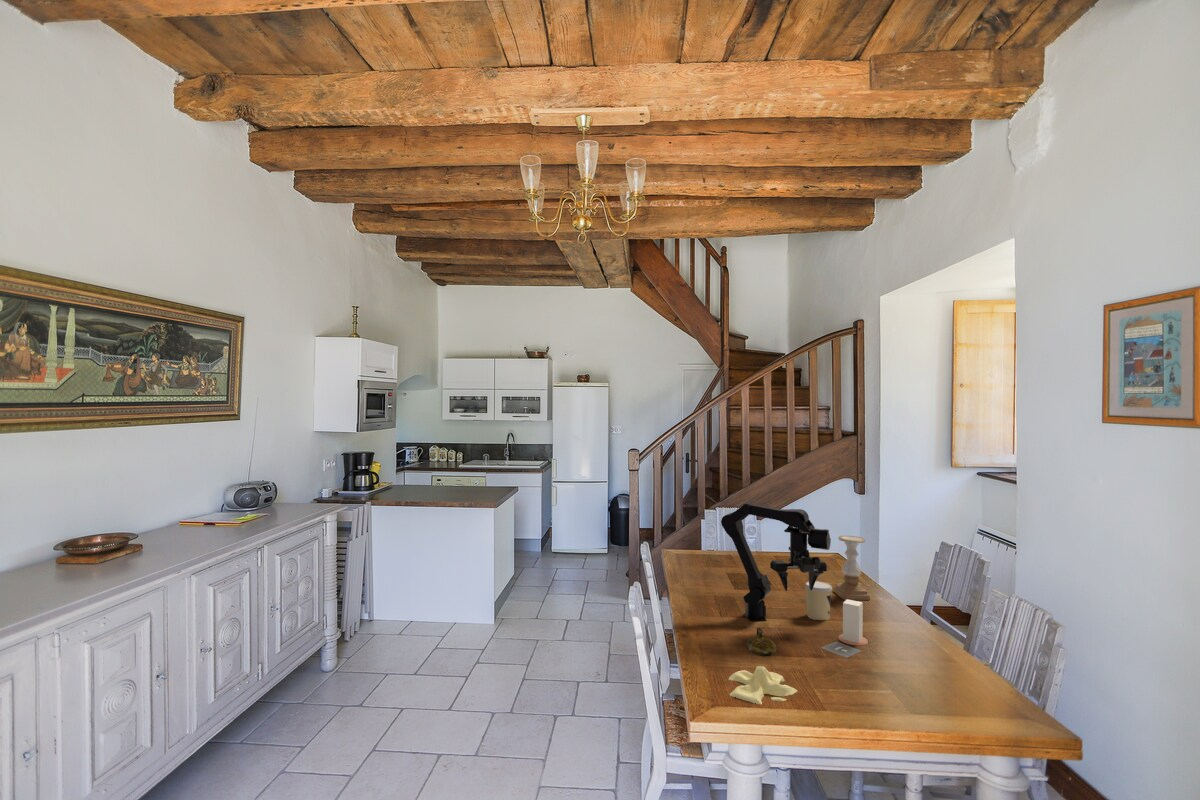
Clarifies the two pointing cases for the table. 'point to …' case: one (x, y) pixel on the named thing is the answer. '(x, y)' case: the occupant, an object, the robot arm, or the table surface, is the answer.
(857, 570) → the candle holder
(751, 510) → the robot arm
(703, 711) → the table surface
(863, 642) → the peach dome
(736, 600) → the table surface
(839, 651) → the gray tile
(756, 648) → the seal
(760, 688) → the cloth
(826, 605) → the coffee cup
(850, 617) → the ivory block
